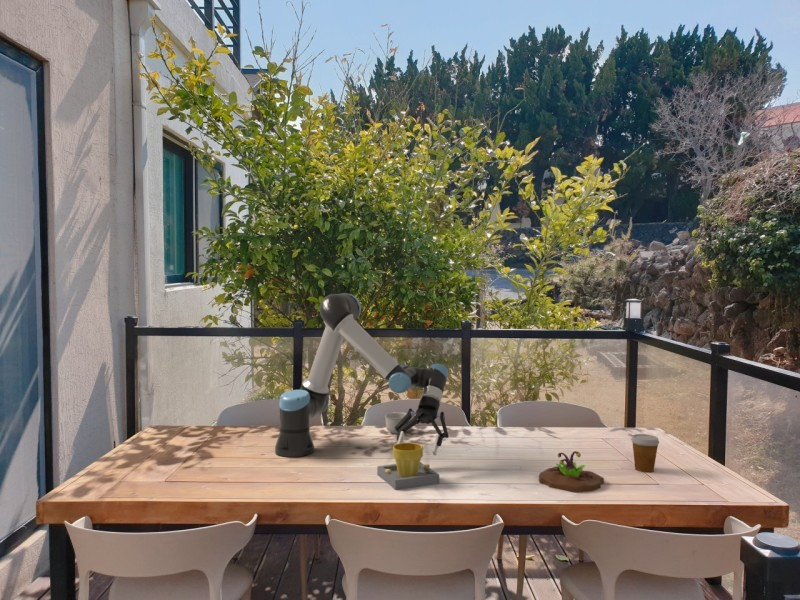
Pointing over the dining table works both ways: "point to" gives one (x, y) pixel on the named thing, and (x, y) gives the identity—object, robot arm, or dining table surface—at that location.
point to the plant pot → (407, 458)
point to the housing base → (398, 482)
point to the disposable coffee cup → (644, 451)
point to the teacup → (393, 421)
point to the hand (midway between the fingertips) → (415, 451)
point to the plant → (571, 477)
